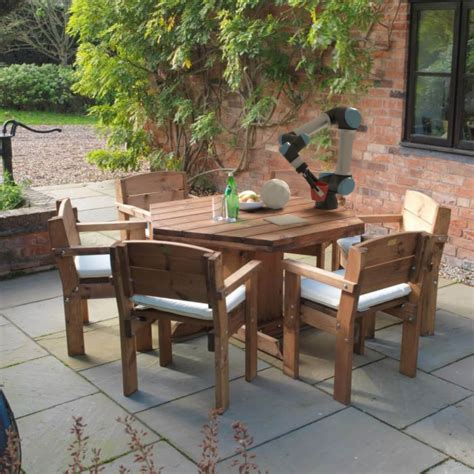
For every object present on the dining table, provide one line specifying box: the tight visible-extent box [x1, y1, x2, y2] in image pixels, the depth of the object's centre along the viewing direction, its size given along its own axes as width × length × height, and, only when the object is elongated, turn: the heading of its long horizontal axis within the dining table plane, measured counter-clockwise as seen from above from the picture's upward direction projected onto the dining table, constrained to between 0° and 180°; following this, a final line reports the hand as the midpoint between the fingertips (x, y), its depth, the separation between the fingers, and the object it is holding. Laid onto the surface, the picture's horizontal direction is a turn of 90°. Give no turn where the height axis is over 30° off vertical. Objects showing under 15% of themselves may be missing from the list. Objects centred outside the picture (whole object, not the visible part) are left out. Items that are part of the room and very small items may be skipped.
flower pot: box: [309, 182, 329, 202], centre depth 432 cm, size 11×11×10 cm
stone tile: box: [262, 214, 309, 227], centre depth 435 cm, size 20×18×1 cm
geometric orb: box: [259, 178, 292, 210], centre depth 466 cm, size 19×20×20 cm
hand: (323, 193), depth 432 cm, fingers closed on flower pot, 11 cm apart
